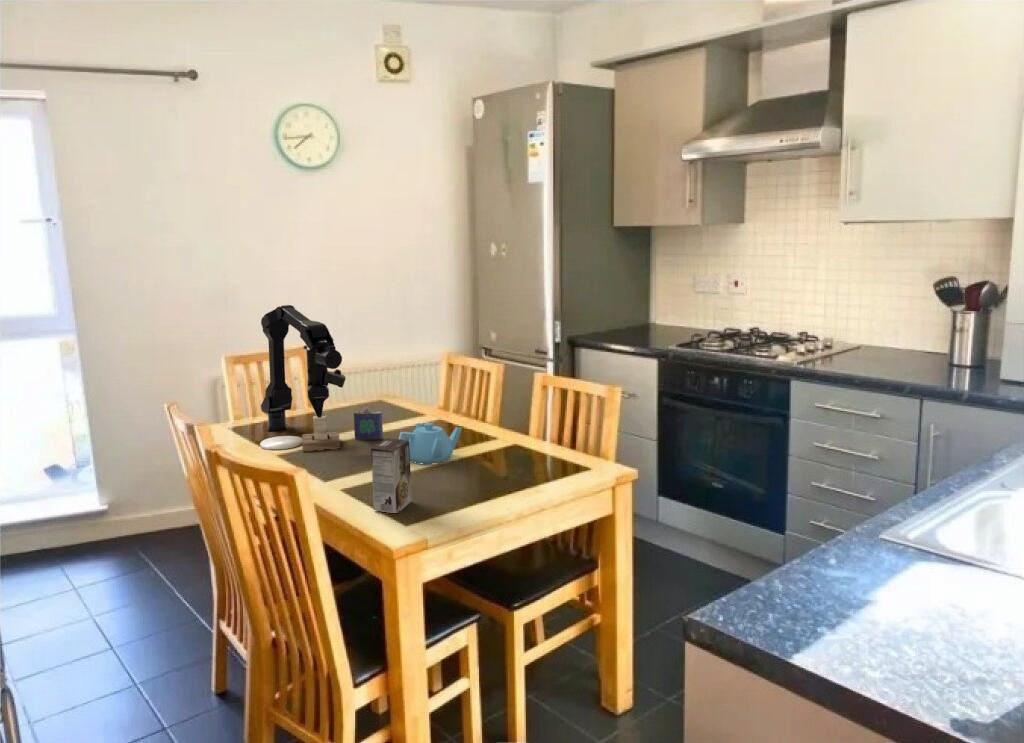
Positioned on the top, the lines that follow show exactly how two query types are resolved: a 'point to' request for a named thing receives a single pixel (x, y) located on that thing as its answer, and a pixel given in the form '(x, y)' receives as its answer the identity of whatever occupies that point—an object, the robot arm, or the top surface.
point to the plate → (281, 442)
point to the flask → (368, 425)
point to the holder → (320, 442)
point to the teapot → (430, 443)
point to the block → (320, 428)
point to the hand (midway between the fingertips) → (319, 413)
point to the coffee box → (391, 475)
